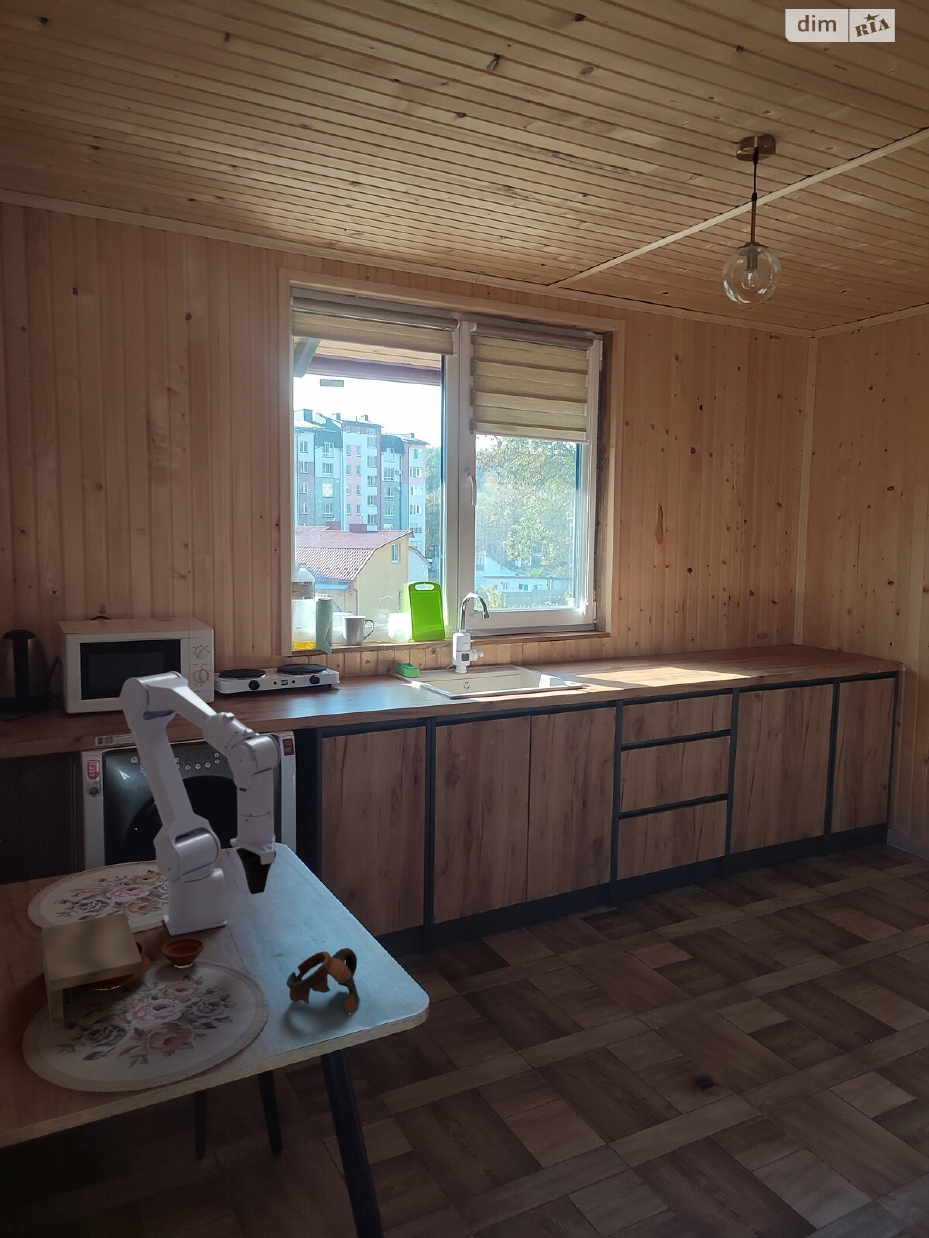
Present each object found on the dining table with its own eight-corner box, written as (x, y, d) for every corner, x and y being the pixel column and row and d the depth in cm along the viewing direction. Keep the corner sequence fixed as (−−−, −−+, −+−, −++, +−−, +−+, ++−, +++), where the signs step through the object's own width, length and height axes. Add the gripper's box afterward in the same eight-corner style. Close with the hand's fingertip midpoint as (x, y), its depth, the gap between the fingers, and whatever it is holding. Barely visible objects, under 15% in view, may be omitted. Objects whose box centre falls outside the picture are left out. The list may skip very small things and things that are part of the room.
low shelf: (126, 954, 143) (124, 912, 142) (143, 1007, 127) (142, 961, 127) (43, 971, 137) (42, 928, 137) (51, 1029, 122) (49, 980, 121)
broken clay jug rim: (345, 1030, 123) (314, 982, 122) (298, 1041, 128) (268, 995, 127) (384, 971, 134) (356, 926, 132) (339, 982, 138) (311, 939, 137)
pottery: (64, 973, 137) (63, 946, 137) (196, 945, 147) (195, 919, 146) (71, 1009, 127) (70, 980, 127) (212, 976, 137) (212, 949, 136)
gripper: (220, 801, 148) (221, 880, 150) (242, 828, 136) (243, 913, 137) (262, 796, 152) (263, 873, 153) (287, 821, 139) (288, 904, 140)
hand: (256, 891), depth 145 cm, fingers closed
